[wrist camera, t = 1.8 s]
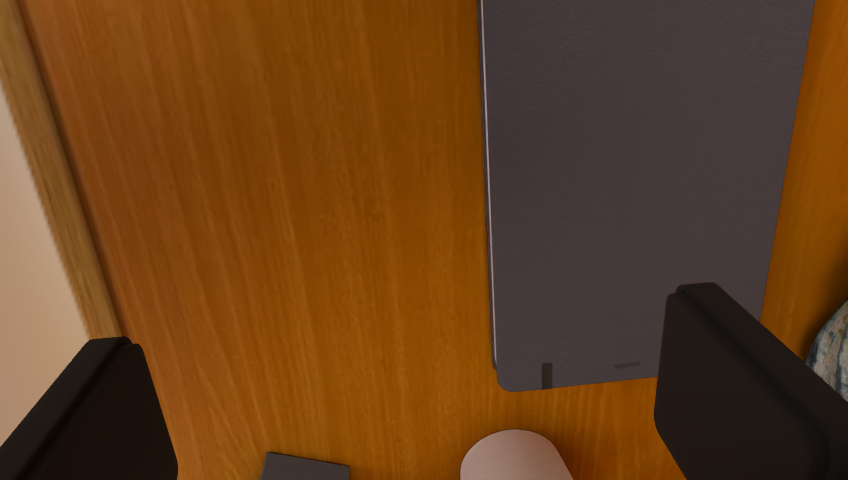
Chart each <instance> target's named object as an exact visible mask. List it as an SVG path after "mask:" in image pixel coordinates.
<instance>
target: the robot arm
mask: <svg viewBox="0 0 848 480" xmlns="http://www.w3.org/2000/svg"><path fill="white" fill-rule="evenodd" d="M654 421H655V425H656V428H657V431H658V433H659V435H660V437H661V438H662V440H663V442H664V443H665V445H666V447H667V448H668V450H669V451H670V453H671V455H672V456H673V458H674V460H675V461H676V463H677V465H678V466H679V468H680V469H681V471H682V473H683V474H684V476H685V478H686V479H687V480H848V402H847V401H846V400H845V399H844V398H843V397H842V396H841V395H840V394H839V393H837V392H836V391H835V390H834V389H833V388H832V387H831V386H830V385H829V384H827V383H826V382H825V381H824V380H823V379H822V378H821V377H820V376H819V375H817V374H816V373H815V372H814V371H813V370H812V369H811V368H810V367H809V366H807V365H806V364H805V363H804V362H803V361H802V360H801V359H800V358H799V357H797V356H796V355H795V354H794V353H793V352H792V351H791V350H790V349H789V348H787V347H786V346H785V345H784V344H783V343H782V342H781V341H780V340H779V339H777V338H776V337H775V336H774V335H773V334H772V333H771V332H770V331H769V330H767V329H766V328H765V327H764V326H763V325H762V324H761V323H760V322H759V321H757V320H756V319H755V318H754V317H753V316H752V315H751V314H750V313H749V312H747V311H746V310H745V309H744V308H743V307H742V306H741V305H740V304H739V303H737V302H736V301H735V300H734V299H733V298H732V297H731V296H730V295H729V294H728V293H726V292H725V291H724V290H723V289H722V288H721V287H720V286H719V285H718V284H716V283H714V282H704V283H693V284H682V285H680V286H678V287H677V289H676V291H675V293H672V294H669V295H668V297H667V300H666V307H665V316H664V325H663V335H662V344H661V353H660V362H659V371H658V380H657V389H656V398H655V407H654ZM177 475H178V463H177V458H176V455H175V452H174V449H173V445H172V442H171V439H170V436H169V432H168V429H167V426H166V423H165V420H164V416H163V413H162V410H161V407H160V403H159V400H158V397H157V394H156V391H155V387H154V384H153V381H152V378H151V374H150V371H149V368H148V365H147V362H146V358H145V355H144V352H143V349H142V347H141V346H140V345H139V344H137V343H136V344H132V342H131V341H130V339H129V338H127V337H125V336H123V337H112V338H101V339H92V340H89V341H88V342H87V343H86V344H85V345H84V346H83V347H82V348H81V350H80V351H79V352H78V353H77V355H76V356H75V357H74V358H73V359H72V361H71V362H70V363H69V364H68V366H67V367H66V368H65V369H64V371H63V372H62V373H61V374H60V375H59V377H58V378H57V379H56V380H55V381H54V383H53V384H52V385H51V386H50V388H49V389H48V390H47V391H46V392H45V394H44V395H43V396H42V397H41V398H40V400H39V401H38V402H37V403H36V405H35V406H34V407H33V408H32V409H31V410H30V412H29V413H28V414H27V416H26V417H25V418H24V419H23V420H22V421H21V423H20V424H19V425H18V426H17V428H16V429H15V430H14V431H13V432H12V434H11V435H10V436H9V437H8V439H7V440H6V441H5V442H4V443H3V445H2V446H1V447H0V480H177Z"/></svg>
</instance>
